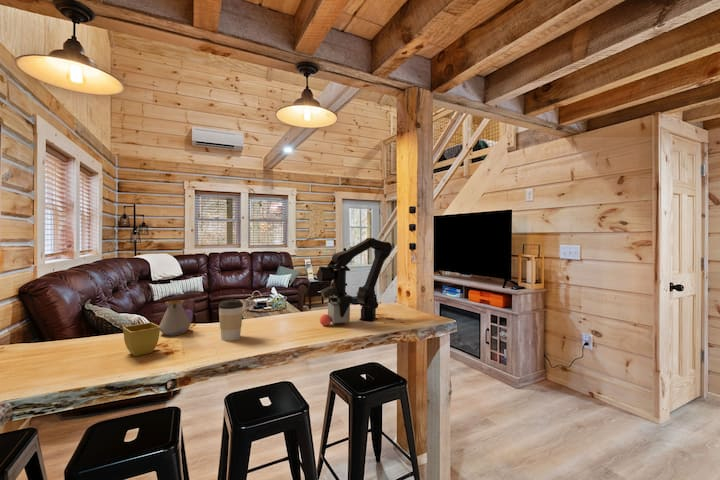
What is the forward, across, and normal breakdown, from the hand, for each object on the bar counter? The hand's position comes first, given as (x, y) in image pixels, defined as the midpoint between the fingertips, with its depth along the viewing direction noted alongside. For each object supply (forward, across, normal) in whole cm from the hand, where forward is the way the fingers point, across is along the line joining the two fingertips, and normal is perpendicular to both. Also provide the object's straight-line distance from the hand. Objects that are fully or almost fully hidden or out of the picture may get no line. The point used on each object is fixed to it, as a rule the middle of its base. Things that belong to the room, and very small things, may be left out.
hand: (338, 314), depth 151 cm
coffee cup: (+5, +2, -46) cm, 46 cm away
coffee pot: (+5, -9, -66) cm, 67 cm away
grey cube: (+2, 0, 0) cm, 3 cm away
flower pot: (+6, +7, -75) cm, 75 cm away
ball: (+2, 0, -6) cm, 7 cm away
